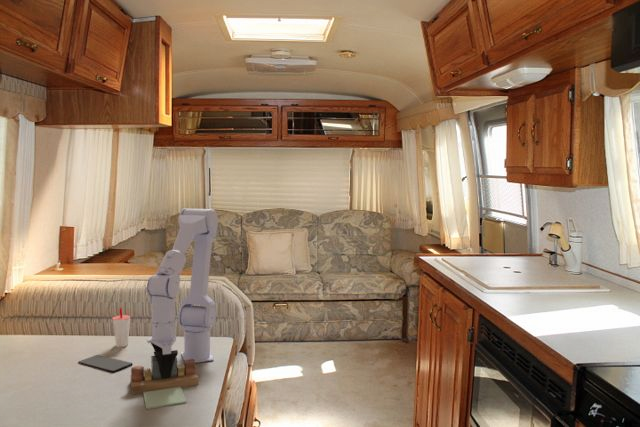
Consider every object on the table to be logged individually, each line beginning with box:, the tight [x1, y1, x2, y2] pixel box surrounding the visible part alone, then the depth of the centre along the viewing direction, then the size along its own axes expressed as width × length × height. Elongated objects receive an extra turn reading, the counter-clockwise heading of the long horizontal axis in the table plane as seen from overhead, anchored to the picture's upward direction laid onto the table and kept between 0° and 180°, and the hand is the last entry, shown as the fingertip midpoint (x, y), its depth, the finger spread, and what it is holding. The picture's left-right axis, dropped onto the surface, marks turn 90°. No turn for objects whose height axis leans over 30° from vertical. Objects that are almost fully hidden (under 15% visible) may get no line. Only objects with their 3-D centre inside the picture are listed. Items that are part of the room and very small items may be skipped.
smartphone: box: [77, 354, 133, 374], centre depth 145 cm, size 7×1×15 cm
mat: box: [142, 387, 187, 410], centre depth 124 cm, size 9×9×1 cm
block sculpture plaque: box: [130, 359, 199, 395], centre depth 132 cm, size 8×16×5 cm, turn 113°
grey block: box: [150, 355, 178, 380], centre depth 132 cm, size 4×6×6 cm, turn 113°
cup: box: [111, 307, 131, 348], centre depth 161 cm, size 5×5×12 cm
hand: (164, 372), depth 132 cm, fingers open, 7 cm apart
